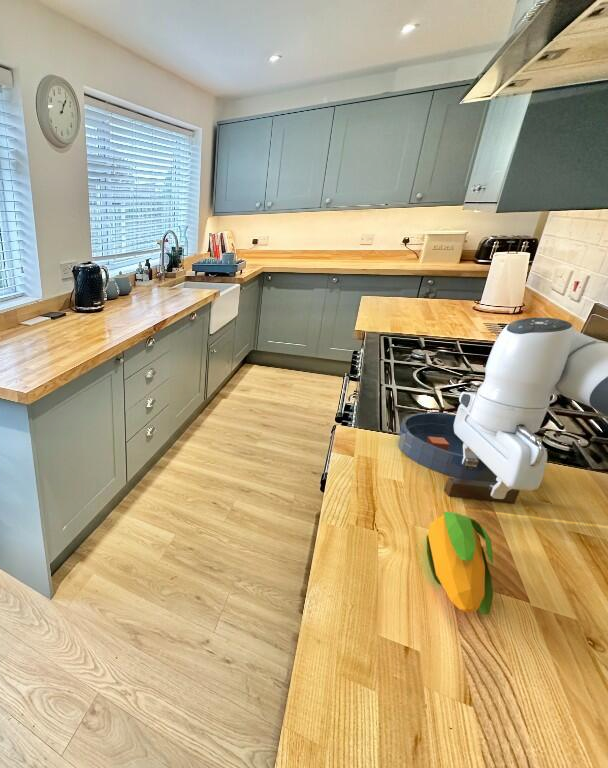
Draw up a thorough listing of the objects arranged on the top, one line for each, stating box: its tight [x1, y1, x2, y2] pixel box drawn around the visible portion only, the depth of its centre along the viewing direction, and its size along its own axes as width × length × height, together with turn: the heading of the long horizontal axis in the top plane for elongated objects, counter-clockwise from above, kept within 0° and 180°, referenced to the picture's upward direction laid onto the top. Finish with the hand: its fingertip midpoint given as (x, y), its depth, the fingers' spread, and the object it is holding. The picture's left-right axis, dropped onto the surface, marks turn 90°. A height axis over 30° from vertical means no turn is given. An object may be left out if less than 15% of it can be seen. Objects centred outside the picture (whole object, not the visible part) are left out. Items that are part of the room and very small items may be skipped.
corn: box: [426, 511, 494, 616], centre depth 60 cm, size 7×8×20 cm
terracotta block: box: [426, 436, 450, 451], centre depth 91 cm, size 3×3×3 cm
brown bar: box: [443, 476, 520, 505], centre depth 77 cm, size 10×2×4 cm, turn 73°
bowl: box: [396, 412, 497, 483], centre depth 90 cm, size 21×21×6 cm
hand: (481, 480), depth 76 cm, fingers open, 8 cm apart
